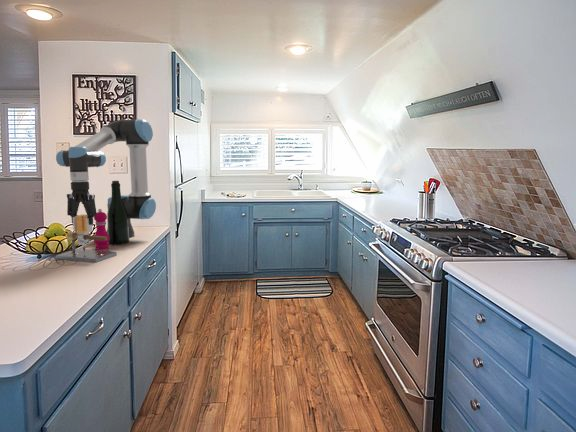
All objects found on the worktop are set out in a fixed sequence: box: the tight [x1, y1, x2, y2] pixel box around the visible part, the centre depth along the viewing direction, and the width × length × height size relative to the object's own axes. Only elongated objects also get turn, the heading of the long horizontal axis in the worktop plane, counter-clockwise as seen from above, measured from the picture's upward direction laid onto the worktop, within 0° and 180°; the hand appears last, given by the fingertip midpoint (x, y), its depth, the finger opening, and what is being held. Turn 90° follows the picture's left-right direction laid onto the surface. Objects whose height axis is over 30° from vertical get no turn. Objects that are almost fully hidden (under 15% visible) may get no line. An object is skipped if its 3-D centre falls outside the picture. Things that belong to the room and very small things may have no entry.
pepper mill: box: [93, 208, 110, 251], centre depth 229 cm, size 7×7×20 cm
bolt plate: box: [55, 248, 117, 263], centre depth 213 cm, size 14×22×2 cm, turn 73°
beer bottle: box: [106, 180, 130, 246], centre depth 240 cm, size 10×10×33 cm
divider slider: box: [76, 214, 91, 252], centre depth 212 cm, size 4×3×17 cm
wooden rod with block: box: [66, 231, 107, 253], centre depth 212 cm, size 4×20×9 cm, turn 73°
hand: (83, 231), depth 211 cm, fingers open, 7 cm apart
